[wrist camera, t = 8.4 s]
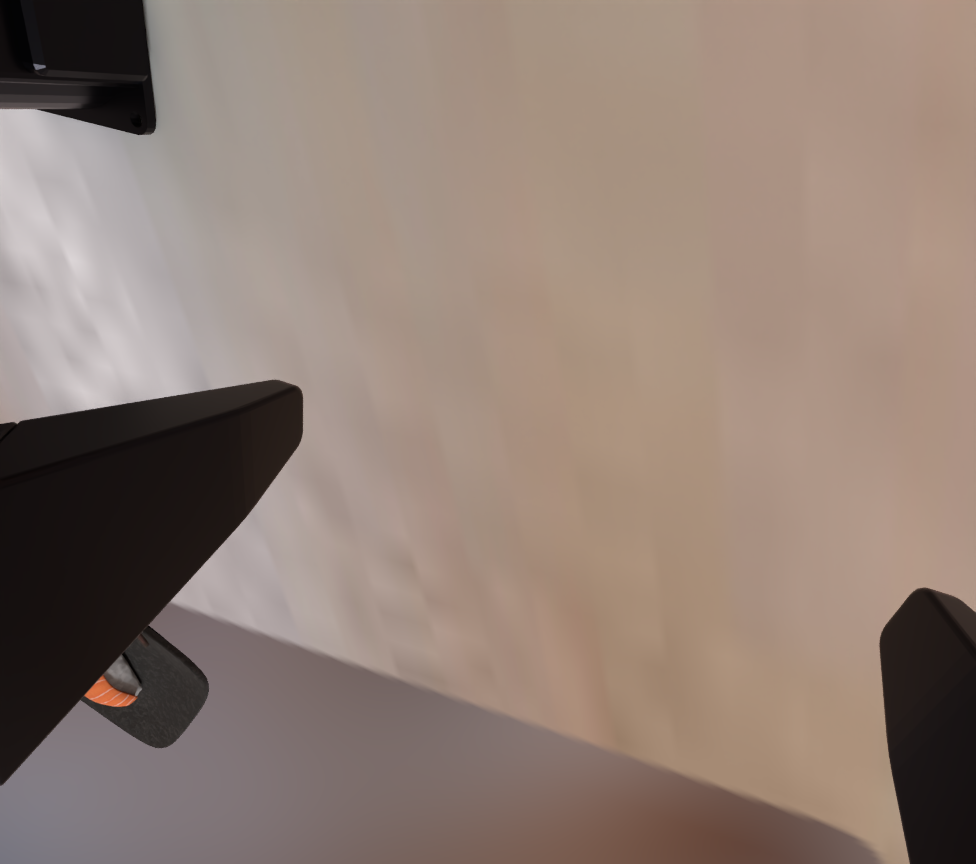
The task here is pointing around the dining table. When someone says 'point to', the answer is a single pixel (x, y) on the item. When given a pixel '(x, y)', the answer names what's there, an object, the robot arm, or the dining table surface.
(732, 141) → the dining table surface
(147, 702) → the sushi plate
